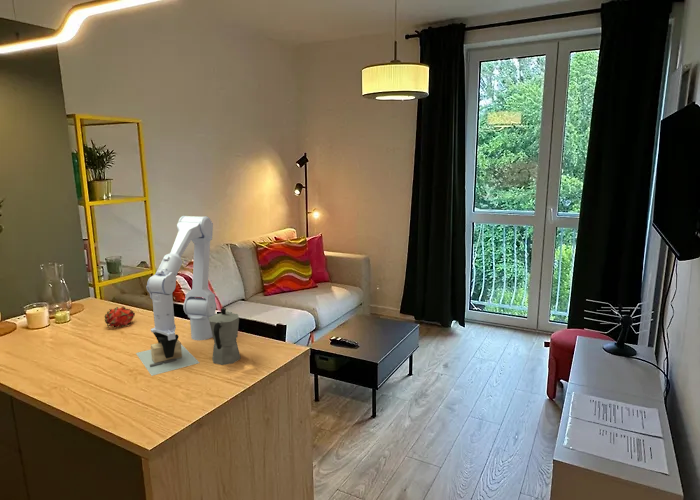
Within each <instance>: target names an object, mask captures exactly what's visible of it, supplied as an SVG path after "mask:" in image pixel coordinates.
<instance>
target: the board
mask: <svg viewBox="0 0 700 500" xmlns="http://www.w3.org/2000/svg"><path fill="white" fill-rule="evenodd" d="M181 351H182V358H180V359H177V361H174V362H170V363H166V364H165V363H164V362H163V364H162V365H158V366H154V367H150V364H154V362H153V361H152V355H151V349H148V350H142V351H140V352H135V354H136V356H137V357H138V359H139V360H140V361H141V363H142V364H143V366H144V368H145V369H146V370H147V372H148V373H149V374H150V376H152V377H153V376H156V375H161V374H163V373H167V372H171V371H175V370H179V369H182V368H186V367H190V366H193V365H197V364H200V361H199V360H198V359H197V358H196V357H195V356H194V355H193V354H192V353H190V351H189V350H188V349H187V348H186V347H185V346H184V345H183V344H182V343H181Z"/></svg>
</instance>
